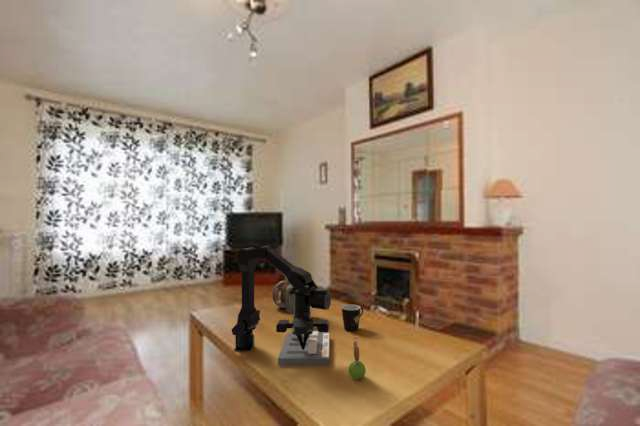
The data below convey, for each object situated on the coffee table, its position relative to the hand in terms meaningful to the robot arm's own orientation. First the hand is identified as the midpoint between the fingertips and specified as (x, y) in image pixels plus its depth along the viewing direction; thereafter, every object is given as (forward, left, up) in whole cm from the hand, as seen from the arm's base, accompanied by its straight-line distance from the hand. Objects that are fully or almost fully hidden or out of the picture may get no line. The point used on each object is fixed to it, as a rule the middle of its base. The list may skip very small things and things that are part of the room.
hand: (303, 349), depth 119 cm
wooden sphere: (-16, +63, -4) cm, 65 cm away
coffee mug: (+20, +30, -4) cm, 37 cm away
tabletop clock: (-7, +44, -4) cm, 45 cm away
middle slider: (+3, +7, -1) cm, 8 cm away
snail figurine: (+18, -13, -4) cm, 23 cm away
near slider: (+3, 0, -1) cm, 3 cm away
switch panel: (0, +7, -4) cm, 8 cm away
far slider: (-5, +14, -1) cm, 15 cm away
